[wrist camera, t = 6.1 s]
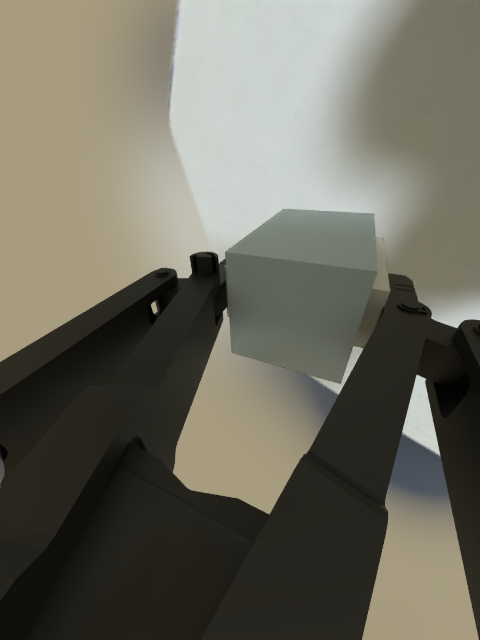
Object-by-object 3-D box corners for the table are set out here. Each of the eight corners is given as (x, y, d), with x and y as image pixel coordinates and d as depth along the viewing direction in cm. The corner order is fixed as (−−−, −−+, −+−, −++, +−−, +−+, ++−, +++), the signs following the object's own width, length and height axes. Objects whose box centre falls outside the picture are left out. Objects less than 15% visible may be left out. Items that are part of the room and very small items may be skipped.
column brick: (283, 208, 15) (225, 252, 9) (374, 213, 13) (377, 271, 7) (278, 282, 18) (231, 352, 12) (351, 294, 16) (340, 383, 10)
